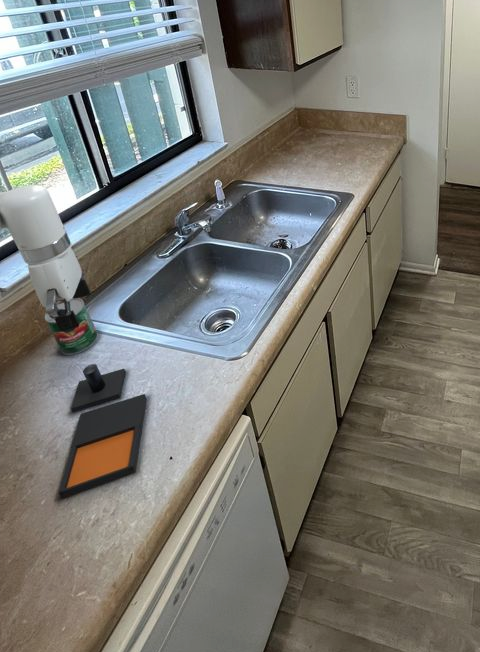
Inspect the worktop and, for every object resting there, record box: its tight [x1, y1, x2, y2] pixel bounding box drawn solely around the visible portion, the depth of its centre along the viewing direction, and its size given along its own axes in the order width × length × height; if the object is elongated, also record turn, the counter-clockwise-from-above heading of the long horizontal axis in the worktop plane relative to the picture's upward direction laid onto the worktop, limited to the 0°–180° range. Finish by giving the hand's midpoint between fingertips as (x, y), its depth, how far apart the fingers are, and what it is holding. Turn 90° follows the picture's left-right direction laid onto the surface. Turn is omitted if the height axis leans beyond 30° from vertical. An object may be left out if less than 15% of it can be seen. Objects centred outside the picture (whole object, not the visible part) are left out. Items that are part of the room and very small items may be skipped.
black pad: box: [70, 363, 127, 413], centre depth 96 cm, size 9×7×7 cm
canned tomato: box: [44, 298, 99, 356], centre depth 108 cm, size 8×8×11 cm
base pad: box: [57, 393, 148, 499], centre depth 87 cm, size 12×16×2 cm
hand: (76, 311), depth 92 cm, fingers open, 9 cm apart
